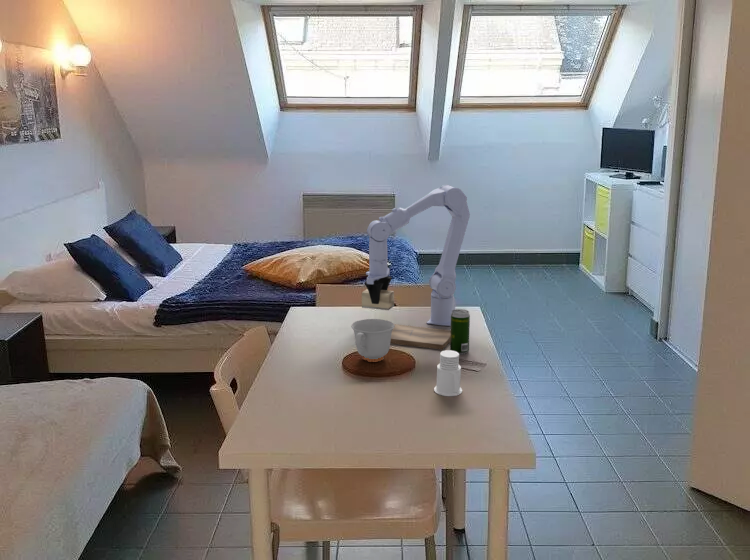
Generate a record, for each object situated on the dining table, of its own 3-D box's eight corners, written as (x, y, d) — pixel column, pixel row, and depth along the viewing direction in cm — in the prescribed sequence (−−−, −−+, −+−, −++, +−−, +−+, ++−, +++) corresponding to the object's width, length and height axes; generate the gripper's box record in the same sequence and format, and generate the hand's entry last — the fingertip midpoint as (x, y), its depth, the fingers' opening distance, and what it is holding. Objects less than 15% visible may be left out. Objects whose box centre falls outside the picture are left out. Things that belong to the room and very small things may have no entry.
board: (394, 328, 230) (394, 324, 229) (455, 335, 223) (455, 330, 222) (378, 341, 217) (378, 337, 217) (442, 349, 210) (442, 344, 210)
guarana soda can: (472, 352, 208) (473, 311, 205) (459, 356, 205) (460, 315, 202) (459, 347, 212) (460, 307, 209) (446, 351, 209) (446, 311, 206)
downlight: (427, 387, 182) (429, 350, 180) (451, 382, 185) (453, 346, 183) (443, 400, 176) (445, 361, 173) (468, 395, 178) (470, 357, 176)
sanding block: (368, 303, 234) (367, 288, 233) (394, 306, 231) (393, 291, 230) (361, 307, 230) (361, 292, 229) (388, 310, 227) (388, 294, 225)
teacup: (338, 366, 198) (337, 330, 195) (364, 349, 210) (364, 316, 208) (377, 373, 192) (377, 337, 190) (401, 356, 205) (402, 322, 203)
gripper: (375, 253, 235) (375, 294, 238) (357, 263, 222) (357, 305, 225) (395, 255, 232) (395, 296, 235) (378, 264, 219) (379, 308, 222)
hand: (378, 301), depth 230 cm, fingers closed on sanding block, 5 cm apart
